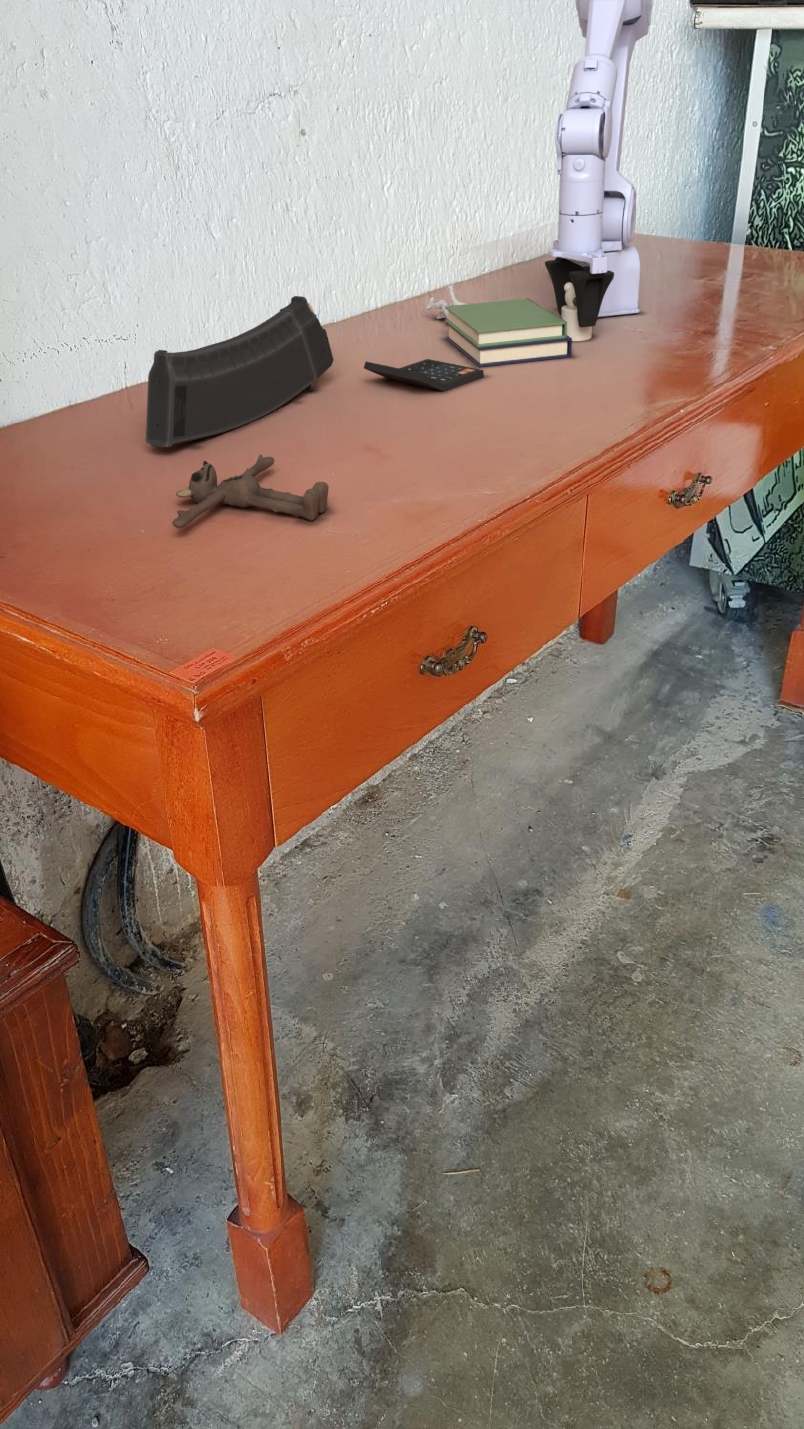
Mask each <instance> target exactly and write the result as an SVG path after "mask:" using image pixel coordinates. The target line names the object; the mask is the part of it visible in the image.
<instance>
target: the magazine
mask: <svg viewBox="0 0 804 1429" xmlns="http://www.w3.org/2000/svg"><path fill="white" fill-rule="evenodd" d="M333 363H334V355H333V352H332V348H331V344H330V341H329V336H328V333H327V330H326V329H325V328H324V327H323V326H322V324H321V322H320V320H319V318H318V316H317V314H315V311H314V309H313V306H312V305H311V303H310V302H308V300H307V298H306V297H305V296H301V295H294V296H292V297H291V299H290V303H289V304H287V305H286V306H285V307H283V308H280V309H279V311H278V312H277V313H275V314H274V315H272V316H271V317H269V318H268V319H266V320H264V321H263V322H261V323H260V324H258V325H257V326H255V327H252V328H251V329H249V330H246V331H245V332H242V333H241V334H238V335H236V336H233V337H231V338H228V339H225V340H222V341H219V342H215V343H211V344H209V345H205V346H202V347H199V348H196V349H191V350H185V351H176V352H175V351H174V352H168V350H164V349H158V350H156V351H155V352H154V353H153V363H152V366H151V367H150V370H149V371H148V376H147V398H146V399H147V400H146V423H145V424H146V425H145V442H146V444H149V445H150V446H152V447H156V448H161V449H162V448H171V447H172V446H174V445H178V444H183V443H186V442H187V443H188V442H191V441H195V440H200V439H204V438H208V437H212V436H217V435H219V434H222V433H226V432H229V431H232V430H236V429H238V428H241V427H243V426H245V425H248V424H251V423H253V422H255V421H257V420H259V419H261V418H263V417H265V416H267V415H269V414H271V413H273V412H274V411H276V410H277V409H279V408H280V407H282V406H284V405H286V404H287V403H288V402H290V401H291V400H292V399H293V398H295V397H296V396H298V395H299V394H300V393H302V392H303V391H308V392H309V391H310V392H313V391H314V388H313V383H314V382H316V381H317V380H318V379H319V378H320V377H321V376H323V374H325V372H327V370H329V369H330V368H331V367H332V365H333Z"/></svg>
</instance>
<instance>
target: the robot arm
mask: <svg viewBox="0 0 804 1429" xmlns="http://www.w3.org/2000/svg"><path fill="white" fill-rule="evenodd" d="M574 2H575V8H576V11H577V18H578V23H579V24H578V26H579V28H580V30H581V35H582V37H583V38H584V39H585V46H584V56H583V57H581V58H580V59H578V60H577V61H576V62H575V64H574V66H573V69H572V74H571V79H570V83H569V90H568V94H567V99H566V100H567V101H566V105H565V110H564V113H559V114H558V116H557V119H556V126H555V137H554V138H555V151H556V152H555V153H556V171H557V172H556V173H557V175H559V188H558V189H559V191H558V222H557V223H558V225H557V226H558V227H557V239H554V240H552V249H549V250H548V255H549V257H552V258H554V259H552V260H546V261H544V266H545V268H546V270H547V272H548V274H549V277H550V279H551V280H550V281H551V283H552V286H553V291H554V296H555V302H556V308H557V312H558V315H559V316H561V311H562V307H563V306H565V305H567V304H566V301H565V293H566V291H565V290H564V286H565V284H566V283H568V282H570V283H572V284H573V287H574V291H575V296H576V303H577V318H578V324H579V327H592V328H593V327H595V326H596V324H597V321H598V318H601V317H603V318H604V317H612V316H613V317H614V316H621V315H631V314H639V313H640V311H641V310H640V308H639V296H640V282H641V281H640V278H641V260H640V254H639V252H638V249H637V247H635V246H634V245H630V243H631V242H633V239H634V236H635V230H636V224H637V223H636V222H637V191H636V189H635V185H634V184H633V183H632V182H631V181H630V180H629V179H627V178H626V177H625V176H624V175H623V174H622V173H621V172H620V166H621V158H622V157H621V156H622V149H623V148H622V147H623V137H624V126H625V116H626V107H627V96H628V87H629V86H628V85H629V76H630V66H631V61H632V56H633V52H634V49H635V46H636V43H637V42H638V41H639V40H641V39H642V38H643V37H645V36H647V35H648V34H649V27H650V26H651V23H652V14H653V5H654V0H575V1H574Z"/></svg>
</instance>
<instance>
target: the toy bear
mask: <svg viewBox="0 0 804 1429" xmlns="http://www.w3.org/2000/svg"><path fill="white" fill-rule="evenodd" d="M564 290H565V291H566V293H565V301H566V304H567V305H565V306H563V307H562V311H561V315H560V318H561V319H563V320H565V321H566V322H567V336H569V337H571V338H572V342H583V341H584V342H585V341H589V340H591V339H592V335H593V326H592V327H579V324H578V318H577V303H576V296H575V291H574V287H573V284H572V283H570V282H568V283H566V284H565V286H564Z"/></svg>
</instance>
